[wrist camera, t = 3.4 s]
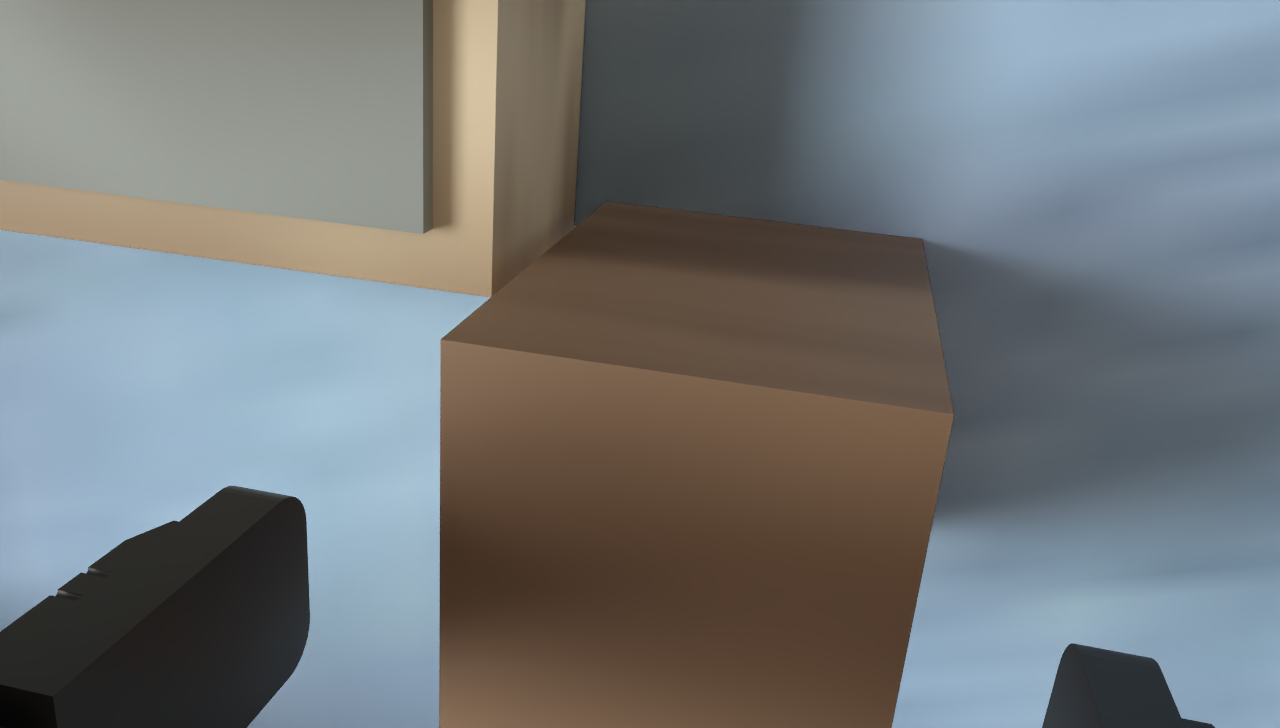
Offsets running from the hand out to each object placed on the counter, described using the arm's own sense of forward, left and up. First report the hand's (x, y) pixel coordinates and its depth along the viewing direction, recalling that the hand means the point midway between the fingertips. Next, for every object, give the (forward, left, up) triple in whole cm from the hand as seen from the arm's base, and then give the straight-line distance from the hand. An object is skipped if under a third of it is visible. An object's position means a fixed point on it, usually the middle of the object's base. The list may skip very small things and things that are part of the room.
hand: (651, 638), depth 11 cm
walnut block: (0, 0, -7) cm, 7 cm away
